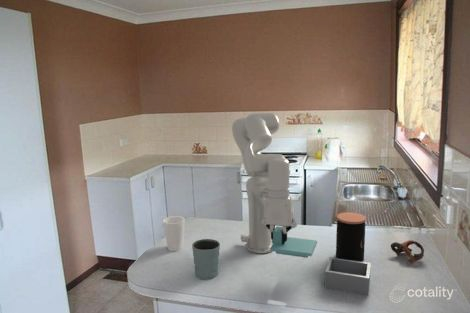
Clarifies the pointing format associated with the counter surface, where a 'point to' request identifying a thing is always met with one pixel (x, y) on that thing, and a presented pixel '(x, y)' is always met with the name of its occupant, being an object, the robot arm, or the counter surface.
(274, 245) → the teal platform with post
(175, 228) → the foam cup
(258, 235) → the robot arm
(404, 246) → the brown looped piece
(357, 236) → the coffee jar
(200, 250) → the green tapered cup
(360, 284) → the tub
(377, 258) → the counter surface
